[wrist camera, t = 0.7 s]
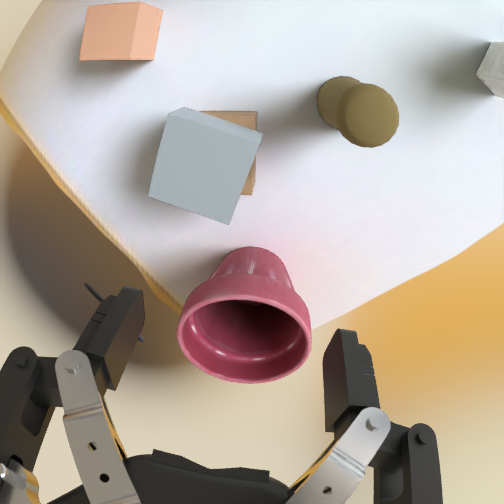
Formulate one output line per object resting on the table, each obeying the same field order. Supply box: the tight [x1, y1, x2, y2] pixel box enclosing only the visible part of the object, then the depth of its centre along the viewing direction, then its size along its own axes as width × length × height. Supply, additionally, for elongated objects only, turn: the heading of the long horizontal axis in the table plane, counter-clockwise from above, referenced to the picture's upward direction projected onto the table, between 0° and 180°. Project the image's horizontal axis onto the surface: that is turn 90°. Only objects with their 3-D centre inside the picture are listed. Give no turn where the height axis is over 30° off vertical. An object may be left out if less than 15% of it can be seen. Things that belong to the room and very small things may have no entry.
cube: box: [79, 2, 163, 61], centre depth 24 cm, size 6×6×6 cm
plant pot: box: [177, 247, 312, 384], centre depth 37 cm, size 14×14×13 cm
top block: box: [148, 107, 263, 225], centre depth 28 cm, size 8×8×4 cm
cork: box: [317, 76, 399, 148], centre depth 25 cm, size 6×6×11 cm
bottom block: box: [199, 111, 257, 195], centre depth 32 cm, size 8×8×4 cm
